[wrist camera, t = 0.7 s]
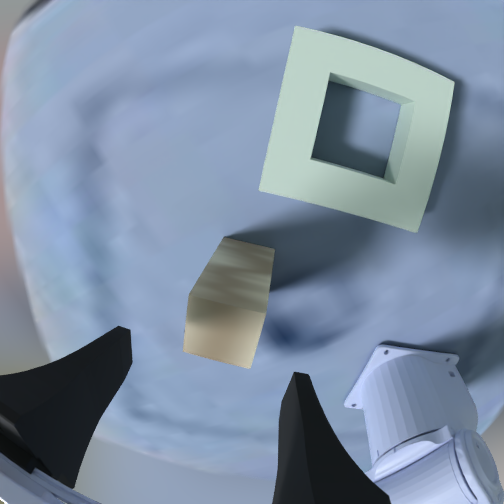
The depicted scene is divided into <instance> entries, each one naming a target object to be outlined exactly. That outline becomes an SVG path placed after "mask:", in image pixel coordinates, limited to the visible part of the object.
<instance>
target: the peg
mask: <svg viewBox="0 0 504 504" xmlns="http://www.w3.org/2000/svg"><path fill="white" fill-rule="evenodd" d="M274 253H275V249H273V248H269V247H264V246H260V245H256V244H252V243H247V242H243V241H239V240H235V239H230V238H226V237H224V238H223V239H222V241H221V243H220V244H219V246H218V247H217V249H216V251H215V252H214V254H213V256H212V257H211V259H210V260H209V262H208V264H207V265H206V267H205V269H204V270H203V272H202V274H201V275H200V277H199V279H198V280H197V282H196V284H195V285H194V287H193V289H192V290H191V292H190V294H189V298H188V306H187V316H186V325H185V335H184V345H183V352H187V353H190V354H194V355H197V356H201V357H204V358H208V359H212V360H216V361H220V362H224V363H228V364H232V365H236V366H240V367H244V368H249V369H250V368H251V364H252V361H253V358H254V354H255V351H256V347H257V344H258V340H259V337H260V334H261V330H262V327H263V323H264V319H265V316H266V311H267V304H268V297H269V290H270V283H271V276H272V268H273V261H274Z"/></svg>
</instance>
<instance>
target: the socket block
mask: <svg viewBox="0 0 504 504" xmlns="http://www.w3.org/2000/svg"><path fill="white" fill-rule="evenodd" d="M328 81H331V82H335V83H338V84H342V85H345V86H349V87H352V88H355V89H358V90H361V91H364V92H368V93H370V94H373V95H376V96H379V97H382V98H385V99H387V100H390V101H393V102H396V103H398V104H401V108H400V112H399V117H398V122H397V126H396V130H395V135H394V139H393V143H392V147H391V151H390V155H389V159H388V163H387V167H386V170H385V174H384V178H381V177H378V176H374V175H371V174H368V173H365V172H362V171H358V170H355V169H352V168H348V167H345V166H341V165H338V164H334V163H331V162H327V161H323V160H320V159H316V158H312V157H311V154H312V150H313V146H314V142H315V137H316V133H317V129H318V125H319V120H320V116H321V111H322V107H323V103H324V98H325V94H326V89H327V84H328ZM454 83H455V82H453V81H451V80H450V79H448V78H446V77H444V76H442V75H440V74H438V73H435V72H433V71H431V70H429V69H427V68H425V67H423V66H420V65H418V64H416V63H414V62H411V61H409V60H406V59H404V58H402V57H399V56H397V55H394V54H391V53H389V52H386V51H383V50H381V49H378V48H375V47H372V46H369V45H366V44H363V43H360V42H357V41H354V40H350V39H347V38H343V37H340V36H336V35H333V34H329V33H325V32H321V31H317V30H313V29H308V28H304V27H299V26H295V29H294V33H293V38H292V42H291V46H290V51H289V55H288V60H287V64H286V69H285V73H284V77H283V82H282V86H281V91H280V95H279V100H278V104H277V109H276V113H275V118H274V122H273V127H272V131H271V136H270V140H269V145H268V150H267V154H266V159H265V163H264V168H263V172H262V177H261V182H260V186H259V191H263V192H267V193H272V194H276V195H280V196H284V197H288V198H292V199H297V200H301V201H305V202H309V203H313V204H316V205H320V206H324V207H328V208H332V209H335V210H339V211H343V212H347V213H350V214H354V215H357V216H361V217H364V218H368V219H371V220H375V221H378V222H382V223H385V224H388V225H392V226H395V227H398V228H402V229H405V230H408V231H411V232H415V233H417V232H418V229H419V226H420V223H421V220H422V217H423V214H424V211H425V208H426V205H427V202H428V198H429V195H430V192H431V188H432V185H433V181H434V178H435V174H436V170H437V167H438V163H439V159H440V155H441V151H442V147H443V142H444V138H445V133H446V129H447V124H448V119H449V113H450V108H451V102H452V96H453V90H454Z"/></svg>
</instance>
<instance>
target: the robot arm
mask: <svg viewBox="0 0 504 504" xmlns="http://www.w3.org/2000/svg"><path fill="white" fill-rule="evenodd" d="M386 350H388V351H386ZM385 351H386V352H385ZM447 358H448V359H447ZM458 361H459V356H458V355H456V354H448V353H439V352H431V351H424V350H417V349H410V348H403V347H396V346H390V345H379V346H377V347H376V349H375V351H374V352H373V354H372V356H371V358H370V360H369V362H368V363H367V365H366V367H365V369H364V370H363V372H362V374H361V375H360V377H359V379H358V381H357V382H356V384H355V386H354V387H353V389H352V390H351V392H350V394H349V395H348V397H347V398H346V400H345V402H344V406H345V407H347V408H356V409H363V410H364V416H365V422H366V428H367V434H368V440H369V446H370V453H371V460H372V467H373V468H372V469H370V470H369V471H367V472H365V474H364V472H363V471H362V470H361V469H360V468H359V467H358V465H357V464H356V463H355V462H354V461H353V460H352V458H351V457H350V456H349V454H348V453H347V452H346V450H345V449H344V447H343V446H342V444H341V443H340V441H339V440H338V438H337V436H336V435H335V433H334V431H333V429H332V427H331V426H330V424H329V422H328V420H327V418H326V416H325V414H324V411H323V409H322V407H321V405H320V403H319V400H318V398H317V395H316V393H315V390H314V387H313V385H312V382H311V379H310V376H309V375H308V374H304V373H299V372H294V373H293V376H292V378H291V381H290V383H289V385H288V388H287V390H286V393H285V395H284V397H283V399H282V403H281V410H280V417H279V440H278V471H277V478H276V485H275V492H274V497H273V503H272V504H503V501H504V491H503V489H502V486H501V483H500V481H499V475H498V471H497V467H496V464H495V462H494V459H493V457H492V454H491V453H490V450H489V449H488V447H487V445H486V443H485V442H484V441H483V439H482V437H481V436H480V435H479V434H478V433H477V432H476V429H477V423H478V414H477V409H476V406H475V403H474V401H473V399H472V397H471V395H470V393H469V391H468V389H467V387H466V385H465V383H464V381H463V379H462V377H461V375H460V374H459V372H458V370H457V368H456V366H455V365H456V364H457V362H458ZM132 362H133V361H132V348H131V331H130V329H127V328H124V327H121V326H117V327H116V328H114V329H112V330H111V331H109V332H107V333H106V334H104V335H102V336H101V337H99V338H98V339H96V340H94V341H93V342H91V343H89V344H88V345H86V346H84V347H82V348H81V349H79V350H77V351H75V352H73V353H71V354H69V355H67V356H65V357H63V358H61V359H59V360H57V361H54V362H52V363H49V364H47V365H44V366H41V367H37V368H34V369H31V370H28V371H24V372H19V373H14V374H8V375H0V499H1V500H2V501H3V502H4V503H6V504H65V503H67V504H101V503H99V502H97V501H94V500H92V499H90V498H88V497H86V496H84V495H82V494H80V493H78V492H76V491H74V490H72V489H73V488H74V487H75V483H76V480H77V476H78V473H79V469H80V466H81V463H82V461H83V458H84V455H85V452H86V450H87V447H88V445H89V442H90V440H91V437H92V435H93V433H94V431H95V428H96V426H97V424H98V422H99V420H100V418H101V417H102V415H103V413H104V412H105V410H106V408H107V407H108V405H109V404H110V402H111V401H112V399H113V397H114V396H115V394H116V393H117V391H118V390H119V388H120V386H121V385H122V383H123V382H124V380H125V378H126V376H127V374H128V371H129V369H130V367H131V365H132ZM57 498H58V499H57ZM59 499H60V500H62V501H63V502H65V503H63V502H62V501H60V500H59Z"/></svg>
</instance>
